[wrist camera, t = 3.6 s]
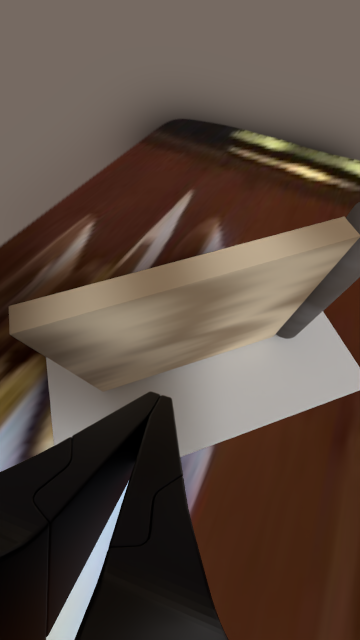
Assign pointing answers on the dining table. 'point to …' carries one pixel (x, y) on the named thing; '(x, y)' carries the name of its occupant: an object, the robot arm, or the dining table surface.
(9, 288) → the dining table surface
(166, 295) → the door
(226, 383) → the board
